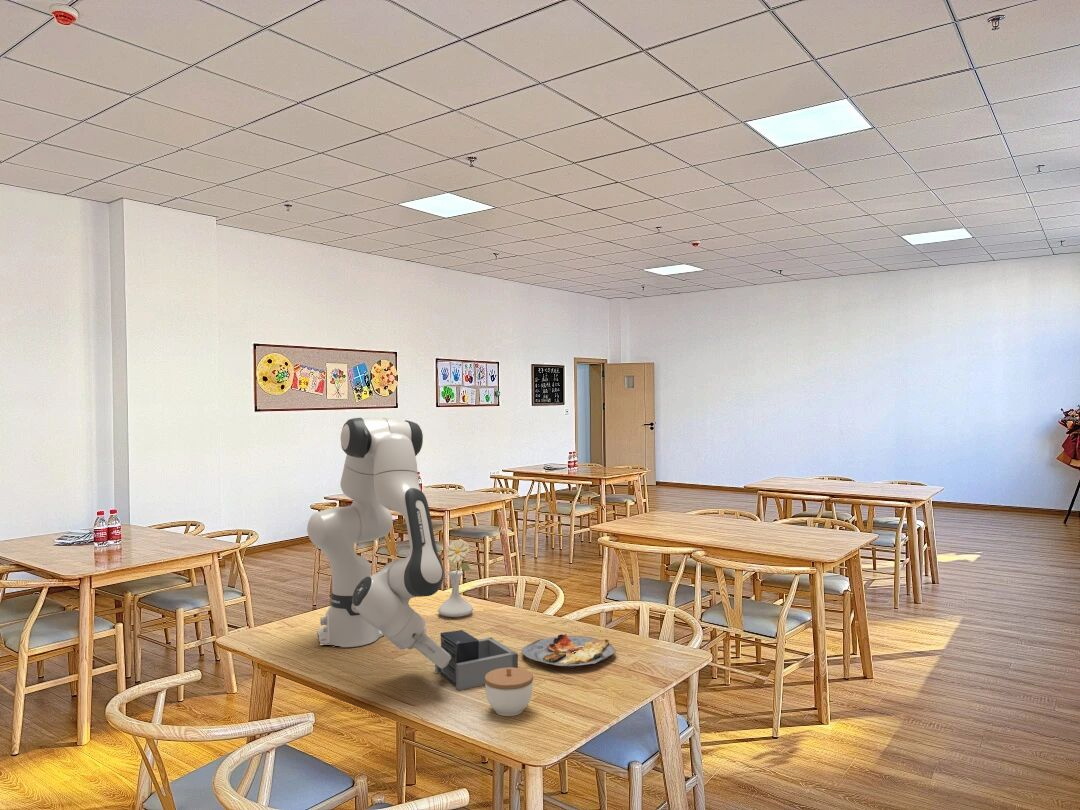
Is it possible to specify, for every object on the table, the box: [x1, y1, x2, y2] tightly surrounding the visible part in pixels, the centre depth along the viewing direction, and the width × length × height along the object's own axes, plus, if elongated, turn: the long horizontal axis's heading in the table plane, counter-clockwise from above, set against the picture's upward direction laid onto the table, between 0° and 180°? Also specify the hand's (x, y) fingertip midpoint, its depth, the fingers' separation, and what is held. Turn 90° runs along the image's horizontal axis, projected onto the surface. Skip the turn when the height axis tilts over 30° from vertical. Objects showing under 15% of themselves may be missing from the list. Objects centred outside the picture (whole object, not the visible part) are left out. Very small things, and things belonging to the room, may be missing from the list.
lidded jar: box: [484, 667, 534, 717], centre depth 165 cm, size 11×11×9 cm
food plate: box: [520, 633, 617, 669], centre depth 200 cm, size 25×23×4 cm
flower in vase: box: [437, 538, 474, 618], centre depth 240 cm, size 13×11×25 cm
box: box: [434, 637, 519, 691], centre depth 187 cm, size 15×16×6 cm
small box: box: [440, 629, 480, 687], centre depth 185 cm, size 11×6×10 cm, turn 30°
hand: (445, 663), depth 183 cm, fingers closed, pressing on small box
